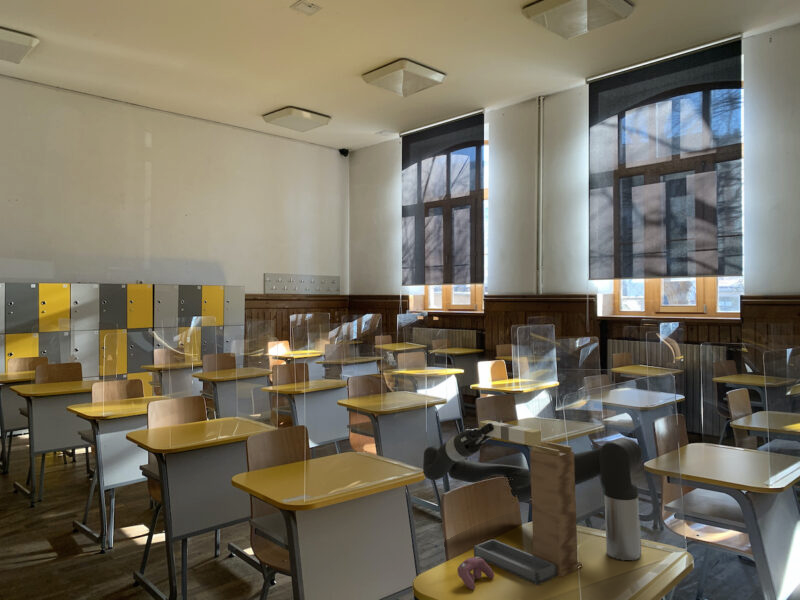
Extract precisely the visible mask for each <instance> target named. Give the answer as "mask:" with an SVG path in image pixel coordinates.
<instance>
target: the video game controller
mask: <svg viewBox="0 0 800 600" xmlns="http://www.w3.org/2000/svg"><path fill="white" fill-rule="evenodd" d="M482 574H484V575H485V576H486V577H488V578H490V579H494V578H495V573H494V571H493V569H492V568H491V566H490V565H488V562H485V561H484V559H482V558H481V557H474V556H471V557H468V558H466V559H465V560H463V561H462V562H461V564H459V565H458V567H457V575H458V577H459V578H460V579H461V580H462V582H463V583H464V585H465V586H466V587H467V588H468V589H470V590H471V589H472V591H474V590H475V589H476V585H475V579H476V580H479V579H481V578H482V576H483V575H482Z"/></svg>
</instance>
